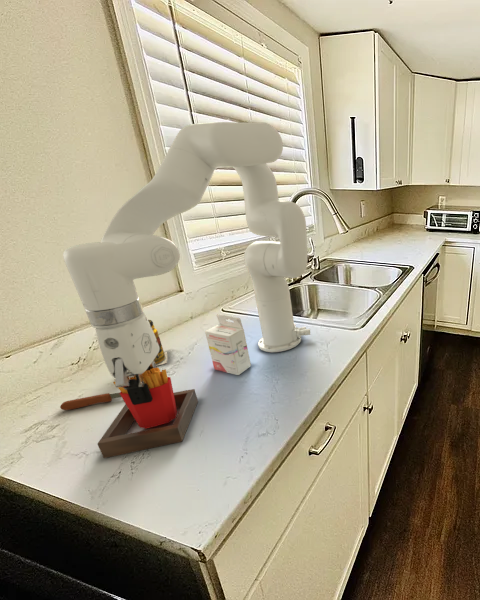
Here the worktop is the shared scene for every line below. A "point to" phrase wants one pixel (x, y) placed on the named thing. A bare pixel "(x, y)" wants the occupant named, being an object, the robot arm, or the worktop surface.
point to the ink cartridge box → (228, 345)
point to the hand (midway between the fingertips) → (147, 393)
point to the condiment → (161, 355)
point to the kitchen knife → (89, 401)
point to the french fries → (153, 400)
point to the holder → (123, 443)
